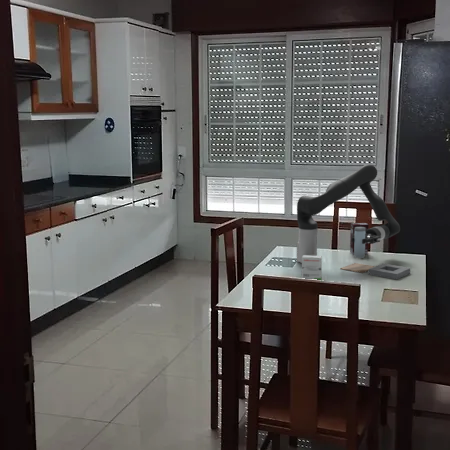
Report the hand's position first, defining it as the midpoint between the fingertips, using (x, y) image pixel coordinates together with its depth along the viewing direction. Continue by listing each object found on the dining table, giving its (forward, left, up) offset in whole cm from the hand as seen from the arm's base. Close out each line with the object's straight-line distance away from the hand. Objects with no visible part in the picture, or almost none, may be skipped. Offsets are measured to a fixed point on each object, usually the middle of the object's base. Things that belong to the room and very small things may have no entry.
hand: (357, 240), depth 297 cm
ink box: (-4, -33, -14) cm, 36 cm away
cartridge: (0, +2, -8) cm, 8 cm away
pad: (0, +2, -14) cm, 14 cm away
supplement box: (-16, +31, -14) cm, 38 cm away
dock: (+16, +2, -14) cm, 21 cm away
